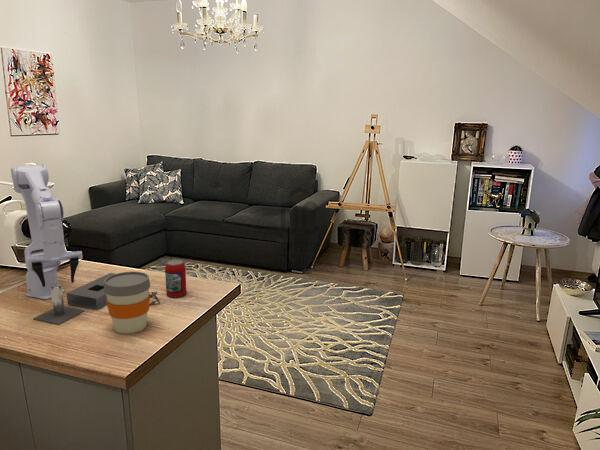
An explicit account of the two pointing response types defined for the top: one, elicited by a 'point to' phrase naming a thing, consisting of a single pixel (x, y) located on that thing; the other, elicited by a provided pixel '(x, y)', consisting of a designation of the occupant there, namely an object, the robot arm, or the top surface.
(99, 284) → the block
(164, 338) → the top surface
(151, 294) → the wooden post with brackets
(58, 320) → the rubber mat
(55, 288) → the steel pin
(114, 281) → the reusable coffee cup
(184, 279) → the beverage can
